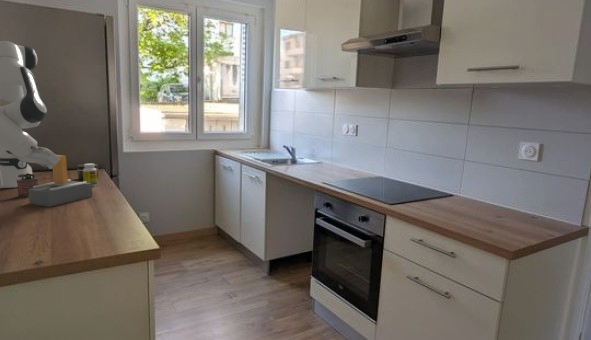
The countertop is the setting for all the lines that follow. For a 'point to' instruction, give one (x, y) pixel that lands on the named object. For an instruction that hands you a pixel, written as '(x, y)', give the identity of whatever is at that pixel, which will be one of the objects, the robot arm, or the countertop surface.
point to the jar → (80, 170)
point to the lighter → (26, 184)
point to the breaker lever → (60, 171)
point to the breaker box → (59, 193)
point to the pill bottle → (90, 174)
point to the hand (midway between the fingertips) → (50, 167)
